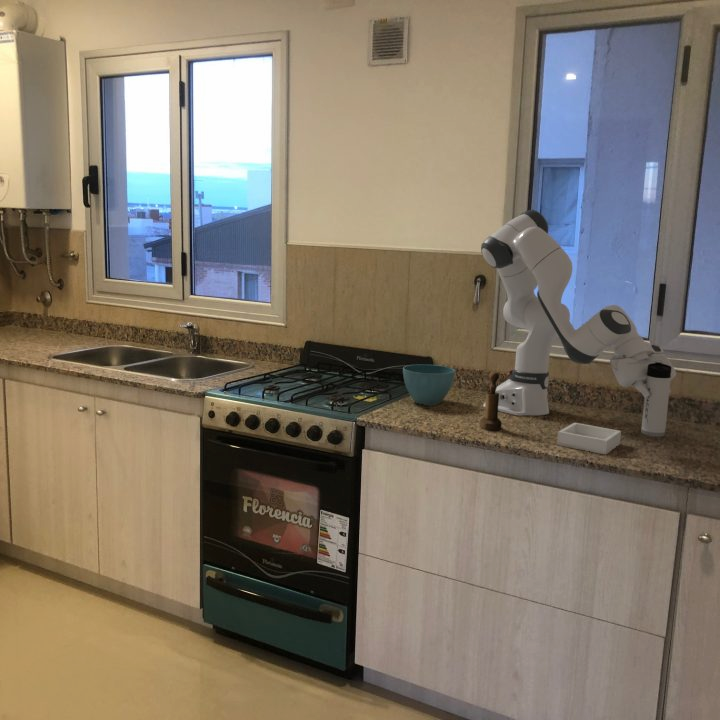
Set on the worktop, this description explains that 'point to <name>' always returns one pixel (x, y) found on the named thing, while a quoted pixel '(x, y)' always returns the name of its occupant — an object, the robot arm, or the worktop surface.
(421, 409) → the worktop surface
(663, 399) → the travel mug
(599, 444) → the tray
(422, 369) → the teal bowl
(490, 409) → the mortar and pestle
